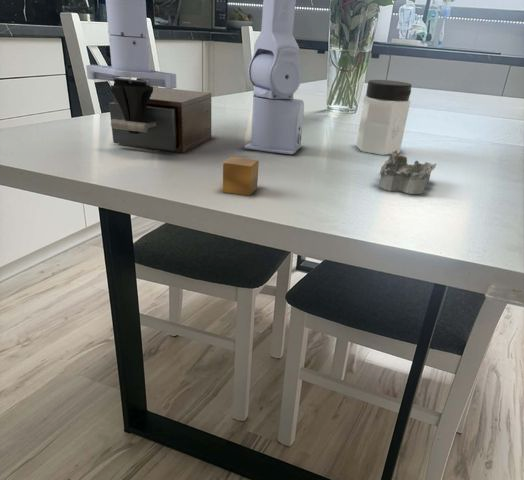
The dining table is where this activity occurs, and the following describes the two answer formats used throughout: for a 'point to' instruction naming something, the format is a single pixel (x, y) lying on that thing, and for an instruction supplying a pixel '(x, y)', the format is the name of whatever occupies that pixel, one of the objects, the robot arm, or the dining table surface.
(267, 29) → the robot arm
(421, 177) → the egg carton
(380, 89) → the jar
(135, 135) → the drawer
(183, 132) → the cabinet
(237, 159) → the block
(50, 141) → the dining table surface
